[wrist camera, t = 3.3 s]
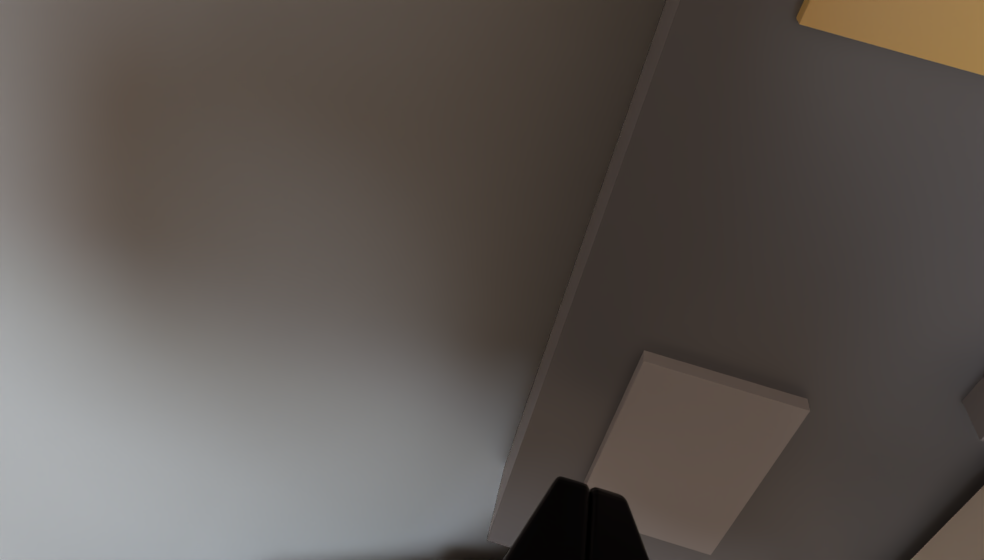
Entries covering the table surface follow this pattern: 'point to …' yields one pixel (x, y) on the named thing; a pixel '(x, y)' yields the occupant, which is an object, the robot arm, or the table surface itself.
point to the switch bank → (778, 289)
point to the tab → (959, 535)
